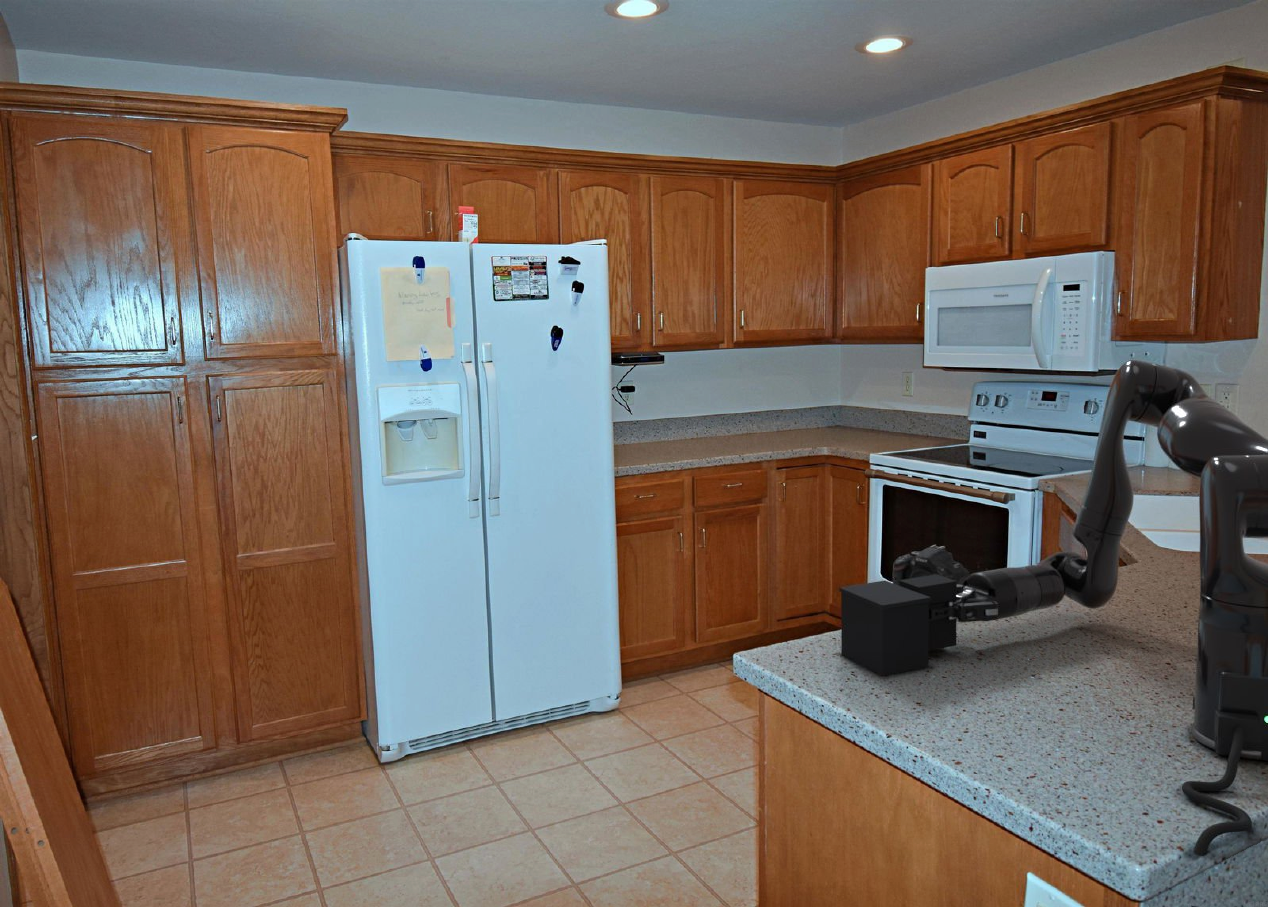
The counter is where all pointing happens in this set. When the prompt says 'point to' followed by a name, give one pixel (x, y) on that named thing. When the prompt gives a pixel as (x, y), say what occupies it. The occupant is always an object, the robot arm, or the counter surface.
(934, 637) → the upright black block
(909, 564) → the camera
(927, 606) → the black lidded box
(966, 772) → the counter surface
